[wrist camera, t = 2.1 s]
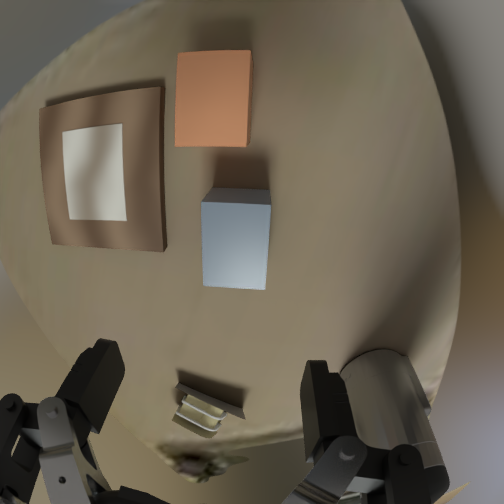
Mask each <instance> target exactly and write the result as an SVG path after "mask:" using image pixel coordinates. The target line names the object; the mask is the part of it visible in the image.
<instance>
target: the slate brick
mask: <svg viewBox="0 0 504 504" xmlns="http://www.w3.org/2000/svg"><path fill="white" fill-rule="evenodd" d="M270 215H271V197H270V190H261V189H241V188H215V187H213V188H212V189H211V190H210V191H209V193H208V194H207V195H206V196H205V198H204V199H203V200H202V202H201V223H202V261H203V286H214V287H228V288H244V289H261V290H265V283H266V270H267V257H268V243H269V229H270Z"/></svg>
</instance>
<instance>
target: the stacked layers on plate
mask: <svg viewBox="0 0 504 504" xmlns="http://www.w3.org/2000/svg"><path fill="white" fill-rule="evenodd" d="M175 388H177V389H179V390H181V391H183V392H185V393H187V394H188V396H187V397H186V396H184V397H183V400H182V403H183V405H179V407H178V409H177V411H176V413H175V415H174V417H173V419H172V421H174V422H175V423H177V424H179V425H181V426H183V427H185V428H186V429H188V430H190V431H192V432H194V433H196V434H198V435H200V436H202V437H205V438H212V437H213V436H214V435H215V434H216V433H217V431H216V430H217V429H218V428H220V427H221V425H222V424H221V423H220V422H221V420H222V419H223V418H224V417H226V416H227V413H226V412H228V413H230V414H233V415H235V416H237V417H240V418H242V419H245V416H244V412H243V409H241V408H238V407H236V406H233V405H230V404H228V403H225V402H223V401H220V400H217V399H215V398H213V397H210V396H208V395H205V394H203V393H200V392H198V391H196V390H194V389H191V388H189V387H187V386H185V385H182V384H180V383H178V384H177V386H176V387H175ZM223 411H226V412H223ZM245 420H246V419H245Z"/></svg>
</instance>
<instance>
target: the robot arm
mask: <svg viewBox="0 0 504 504" xmlns="http://www.w3.org/2000/svg"><path fill="white" fill-rule="evenodd" d="M124 374H125V366H124V362H123V359H122V356H121V353H120V350H119V347H118V344H117V342H116V341H112V340H107V339H102V338H100V339H98V340H97V342H96V343H95V345H94V347H93V348H90V347H89V348H88V349H86V350H85V351H84V352H83V353H81V354H80V356H79V357H78V359H77V360H76V362H75V364H74V365H73V367H72V369H71V371H70V372H69V374H68V376H67V377H66V378H65V380H64V382H63V383H62V385H61V387H60V389H59V390H58V392H57V394H56V395H55V396H54V397H48V398H45V399H44V400H42V401H41V402H40V403H39V404H37V403H25V402H23V400H22V399H21V398H20V396H18V395H17V394H13V393H12V394H7V395H5V396H4V397H3V398H2V399H1V400H0V504H29V501H30V498H31V495H32V492H33V489H34V485H35V482H36V479H37V476H38V473H39V471H40V468H41V470H42V474H43V478H44V481H45V485H46V488H47V492H48V495H49V498H50V502H51V504H170V503H167V502H165V501H163V500H160V499H159V498H156V497H154V496H152V495H150V494H148V493H146V492H142V491H138V490H134V489H131V488H128V487H124V486H121V487H120V490H111V488H110V486H109V484H108V482H107V481H106V479H105V478H104V476H103V474H102V472H101V470H100V468H99V465H98V462H97V460H96V457H95V454H94V451H93V449H92V446H91V443H90V440H89V438H88V435H89V433H90V431H91V432H94V433H97V434H99V433H100V431H101V428H102V426H103V423H104V421H105V419H106V416H107V414H108V412H109V409H110V407H111V405H112V402H113V400H114V398H115V395H116V393H117V391H118V389H119V386H120V384H121V382H122V380H123V377H124ZM300 400H301V410H302V421H303V432H304V444H305V456H306V462H314V467H313V469H312V470H311V471H310V472H309V474H308V475H307V476H306V477H305V478H304V480H303V481H302V482H301V483H300V484H299V485H298V486H297V487H296V488H295V489H294V490H293V491H292V493H291V494H290V495H289V496H288V497H287V498H286V500H284V502H283V503H282V504H337V503H338V501H339V499H340V498H341V496H342V495H343V493H344V492H345V491H346V490H347V491H353V492H360V498H361V504H433V503H434V502H436V501H437V500H438V499H439V498H440V497H441V496H442V495H444V493H445V492H446V491H447V490H448V488H449V485H450V484H449V483H450V482H449V476H448V473H447V470H446V467H445V464H444V461H443V459H442V456H441V452H440V450H439V447H438V444H437V441H436V439H435V436H434V433H433V431H432V428H431V426H430V423H429V420H428V417H427V416H428V415H429V414H430V412H431V406H430V404H429V401H428V399H427V397H426V394H425V392H424V390H423V388H422V385H421V383H420V381H419V379H418V377H417V375H416V372H415V370H414V368H413V366H412V364H411V362H410V360H409V358H408V356H401V355H400V354H398V353H397V352H395V351H393V350H387V349H383V350H375V351H371V352H368V353H365V354H363V355H361V356H359V357H357V358H356V359H354V360H353V361H351V362H350V363H349V364H348V365H347V366H346V367H345V368H344V369H343V370H342V372H341V374H340V375H339V374H338V373H329V370H328V366H327V362H326V360H308V361H307V363H306V366H305V370H304V374H303V378H302V382H301V387H300ZM18 435H20V436H21V437H20V439H19V441H18V443H17V446H16V448H15V451H14V453H13V456H12V457H11V451H12V449H13V446H14V444H15V442H16V440H17V437H18Z"/></svg>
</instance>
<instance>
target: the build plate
mask: <svg viewBox="0 0 504 504" xmlns="http://www.w3.org/2000/svg"><path fill="white" fill-rule="evenodd" d="M164 104H165V88H164V87H150V88H141V89H133V90H126V91H119V92H113V93H107V94H101V95H96V96H90V97H86V98H81V99H76V100H72V101H68V102H63V103H59V104H56V105H52V106H48V107H44V108H41V109H40V110H39V134H40V157H41V171H42V181H43V190H44V198H45V205H46V212H47V218H48V224H49V230H50V235H51V240H52V244H56V245H70V246H83V247H97V248H111V249H125V250H140V251H154V252H164V251H165V249H166V248H167V236H166V219H165V196H164Z"/></svg>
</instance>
